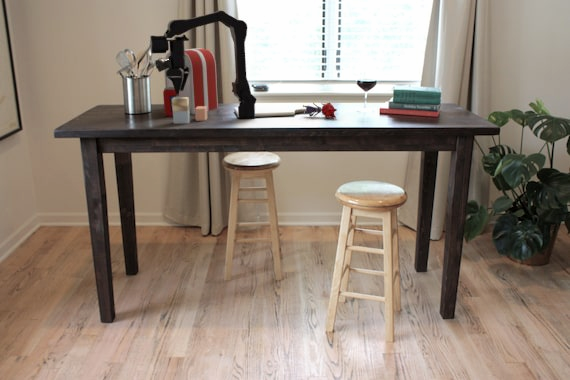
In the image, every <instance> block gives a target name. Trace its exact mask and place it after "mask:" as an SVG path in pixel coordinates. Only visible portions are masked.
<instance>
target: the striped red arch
mask: <svg viewBox="0 0 570 380" xmlns="http://www.w3.org/2000/svg"><path fill="white" fill-rule="evenodd" d="M184 50H185V55H186V58H185V65H188V66H189V67H190V72H186V73H189V76H188V78H187V81H186V84H185V87H184V90H183V91H180V92H179V97H189V111H190V115H195V108H196V107H197V106H207V112H208V111H212V110H213V111H214V110H216V109H218V108H219V107H218V106H219V103H218V85H217V83H218V82H217V63H216V59H215V56H214V54H213V53H212V51H211V50H209V49H205V48H201V47H200V48H199V47H198V48H197V47H196V48H189V49H184ZM169 56H170V51H169V52H167V53H166V55H165V57H164V60H165V59H168V57H169ZM168 69H169V68H167V69H165V70H163V71H164V72H163V73H164V84H165V87H164V88H167V87H174V86H173V83H172V81H171V80H170V79H168V78H167V76H166V71H167V70H168Z"/></svg>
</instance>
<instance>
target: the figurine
mask: <svg viewBox="0 0 570 380" xmlns="http://www.w3.org/2000/svg"><path fill="white" fill-rule="evenodd" d="M312 104H313V105H314V106H312V105H310V104H308V105H304V104H303V105H302V107H303V108H305V109H306V110H305V111H302V113H303V114H308V115H309V117H315V116H317V115H319V114H322V115H324V119H327V118H332V119H333V118H335V119H336V118H337V117H336V115H335V112H337V110H338V109H337V108H335V107H334V106H333V105H332V103H331V102H327V103H322V102H321V105H322V107H321V106H318V105H317V104H315V102H312Z"/></svg>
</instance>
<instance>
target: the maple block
mask: <svg viewBox="0 0 570 380" xmlns="http://www.w3.org/2000/svg"><path fill="white" fill-rule="evenodd" d="M172 109H173V111H188V110H189V97H174V98H172Z"/></svg>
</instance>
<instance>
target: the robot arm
mask: <svg viewBox="0 0 570 380" xmlns="http://www.w3.org/2000/svg"><path fill="white" fill-rule="evenodd" d="M219 22H220V23H221V24H222V25H224V26H225V27H227V28H229V32H230V36H231V38H232V41H233V49H234V50H233V51H234V66H235V80H234V81H231V86H232V91H231V93H233V95H234V97H236V98H237V100H238V101H239V103H238V107H237V110H238V111H237V115H238V118H239V119H256V116H255V115H256V101H257V98H256V96H254V95H253V94H252V92H251V87H250V84H249V81H248V78H247V77H248V76H247V63H246V62H247V61H246V46H245V42H246V39H247V36H248V35H247V34H248V24H247V23H246V21H244V20H242V19H237V18H235V17H233V16H232V15H230V14H228V13H226V12H225V11H224V10H216V11H215V12H214V11H213V12H211V13H207V14H203V15H202V14H201V15H199V16H195V17H191V18H182V19H181V18H180V19H172V20H169V22H168V23H167V28H166V30H165V32H164V33H163V35H150V36H149V37H150V40H149V41H150V42H149V50H150V54H152V55H153V54H167V51H169V52H170V56H169V57H168V59H169V60H167V61H165V60H164V61H163V60H162V59H160V60H158V61H157V62H156V64H155V66H156V68H155V69H157V71H158V72H159V73H161V72H163V71H164V70H165V69H167V68H169V69H168V70H167V71H166V76H167V78H168V79H170V80H171V81H172V83H173V86H174V89H175V92H176V94H179V92H180V91H183V90H184V87H185V84H186V81H187V78H188V76H189V73H186V72H190V67H189V66H188V65H185V58H186V55H185V50H186V49H185V42H187V41H190V39H189V38H188V37H187V35H186V34H185V33H187V32H189V31H191V30H192V29H195V28H199V27H204V26H207V25H210V24H211V25H212V24H215V23H219Z"/></svg>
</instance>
